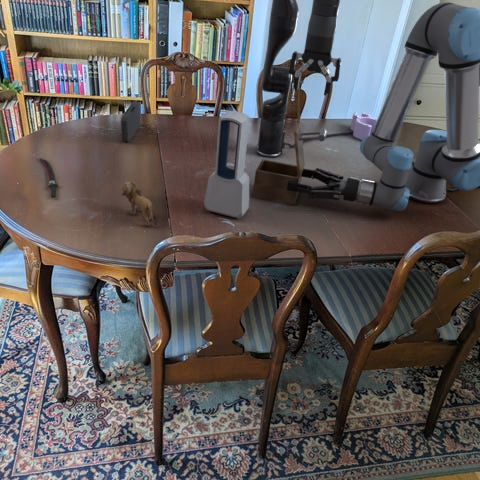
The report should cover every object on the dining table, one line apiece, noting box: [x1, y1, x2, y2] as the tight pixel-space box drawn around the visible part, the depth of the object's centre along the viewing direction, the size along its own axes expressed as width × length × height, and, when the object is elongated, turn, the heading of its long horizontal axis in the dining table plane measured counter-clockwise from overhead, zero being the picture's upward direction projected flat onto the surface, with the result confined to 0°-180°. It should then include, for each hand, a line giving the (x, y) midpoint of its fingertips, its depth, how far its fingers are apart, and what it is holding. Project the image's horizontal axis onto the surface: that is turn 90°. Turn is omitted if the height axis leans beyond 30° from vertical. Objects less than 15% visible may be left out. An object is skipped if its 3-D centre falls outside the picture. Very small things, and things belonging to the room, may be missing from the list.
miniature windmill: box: [285, 60, 305, 125], centre depth 208 cm, size 9×8×30 cm
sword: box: [40, 158, 59, 198], centre depth 151 cm, size 31×3×1 cm, turn 26°
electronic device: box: [203, 110, 251, 220], centre depth 135 cm, size 12×8×30 cm, turn 71°
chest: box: [252, 158, 303, 206], centre depth 153 cm, size 14×10×10 cm
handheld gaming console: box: [120, 101, 141, 143], centre depth 188 cm, size 23×3×10 cm, turn 178°
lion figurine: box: [119, 181, 159, 227], centre depth 134 cm, size 15×5×9 cm, turn 50°
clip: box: [349, 112, 378, 141], centre depth 214 cm, size 20×12×7 cm, turn 11°
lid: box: [293, 121, 328, 178], centre depth 145 cm, size 14×10×9 cm
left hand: (310, 92), depth 136 cm, fingers open, 8 cm apart
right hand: (290, 178), depth 152 cm, fingers open, 12 cm apart
